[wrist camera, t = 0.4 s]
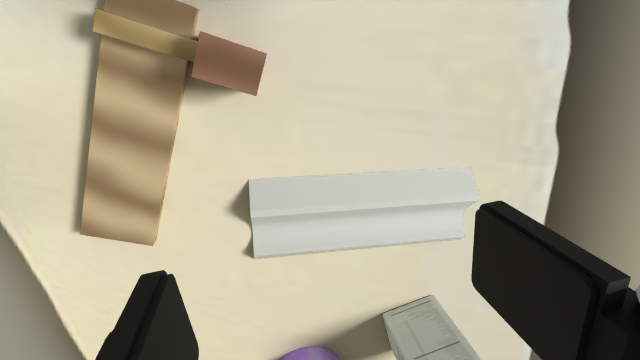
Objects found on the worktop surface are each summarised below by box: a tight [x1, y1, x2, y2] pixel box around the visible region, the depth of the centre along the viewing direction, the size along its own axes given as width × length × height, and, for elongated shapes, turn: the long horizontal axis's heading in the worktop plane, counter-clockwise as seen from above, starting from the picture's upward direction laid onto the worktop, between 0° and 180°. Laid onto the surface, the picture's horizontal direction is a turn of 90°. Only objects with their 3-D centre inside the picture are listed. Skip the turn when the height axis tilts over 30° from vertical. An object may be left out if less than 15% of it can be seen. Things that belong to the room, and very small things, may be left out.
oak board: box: [80, 0, 199, 246], centre depth 37 cm, size 28×8×2 cm, turn 162°
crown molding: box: [249, 167, 480, 259], centre depth 46 cm, size 31×12×4 cm, turn 89°
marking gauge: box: [93, 8, 267, 96], centre depth 33 cm, size 4×16×7 cm, turn 72°
